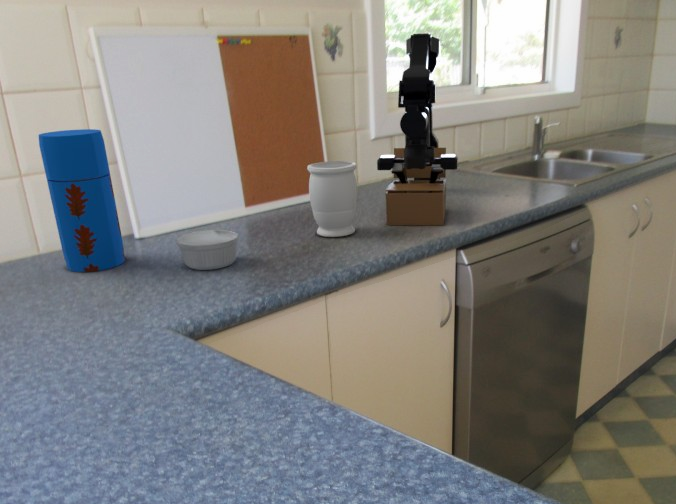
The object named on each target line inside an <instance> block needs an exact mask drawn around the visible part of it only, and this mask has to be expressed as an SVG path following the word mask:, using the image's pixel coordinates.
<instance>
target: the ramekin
mask: <svg viewBox="0 0 676 504" xmlns="http://www.w3.org/2000/svg"><path fill="white" fill-rule="evenodd" d="M238 242H239V235H238V233H237V232H234V231H231V230H226V229H206V230H198V231H193V232H189V233H186V234H183V235H181V236H179V237H178V238H177V239H176V245H177V247H178V248H179V252H180V254H181V257H182V260H183V263H184V264H185V266H187V267H188V268H189V269H191V270H195V271H212V270H219V269H224V268H226V267H229V266H231V265H233V264H234V262H235V261H236V260H237V256H238V255H237V253H238Z"/></svg>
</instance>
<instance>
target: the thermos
mask: <svg viewBox="0 0 676 504" xmlns="http://www.w3.org/2000/svg"><path fill="white" fill-rule="evenodd" d="M38 144H39V145H38V146H39V151H40V155H41V160H42V164H43V169H44V173H45V178H46V182H47V187H48V191H49V195H50V200H51V205H52V209H53V214H54V219H55V224H56V228H57V231H58V237H59V241H60V245H61V249H62V254H63V257H64V260H65V264H66V267H67V270H69V271H70V272H75V273H76V272H77V273H89V272H99V271H104V270H110V269H112V268H115V267H118V266H120V265H122V264H123V263H125V261H126V258H125V257H126V256H125V249H124V241H123V237H122V236H123V235H122V230H121V226H120V220H119V214H118V209H117V203H116V199H115V193H114V188H113V181H112V177H111V171H110V166H109V160H108V154H107V150H106V145H105V138H104V136H103V133H102V131H101V129H96V128H95V129H93V128H92V129H90V128H87V129H85V128H84V129H83V128H82V129H67V130H57V131H49V132H42V133H39V134H38Z"/></svg>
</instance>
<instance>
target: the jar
mask: <svg viewBox="0 0 676 504" xmlns="http://www.w3.org/2000/svg"><path fill="white" fill-rule="evenodd" d="M356 169H357V163H356V162H353V161H344V160H332V161H330V160H329V161H320V162H314V163H310V164H308V165H307V171H308V172H309V174H310V175H309V180H308V196H309V203H310V206H311V210H312V215H313V218H314V221H315V223H316V225H317V226H318V228H317V230H316V234H317V235H318V236H321V237H325V238H340V237H341V238H342V237H347V236H350V235H353V234H354V233H355V232H356V229H355V227H354V225H353V224H354V221H355V219H356V216H357V205H358V198H359V197H358V195H359V193H358V191H359V190H358V183H357V177H356V174H355V171H356Z"/></svg>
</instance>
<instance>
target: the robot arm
mask: <svg viewBox="0 0 676 504" xmlns="http://www.w3.org/2000/svg"><path fill="white" fill-rule="evenodd" d="M405 42H406V43H405V44H406V47H405V51H406V53H405V54H406V55H405V56H406V57H407V59H409V67H408V68H407V69H405V70H404V71H402V77H401V80H399V82H398V99H397V100H398V101H397V108H399V109H400V108H401V109H403V108H404V113H403V114H402V116H401V118H400V121H399V126H400V127H399V128H400V130H401V132H402V133H403V134H404V145H405V146H404V148H405V149H404V158H396V155H394V154H381V155H380V157H379V158H378V159H377V161H376V165H377V167H376V169H377V171H390V172H391V174H392V175H394V174H396V175H397V177H398V178H397V179H398V181H400V182H401V184H407V183H408V181H409V180H408V178H407V172H406V169H412V168H419V169H424V168H426V166H432V170H431V175H430V178H413V180H430V183H435V181H436V180H441V178H437V177H438V175H439V173H443V172H444V170H446V171H455V170H458V167H459V156H458V155H457V154H456V153H446V154H441V157H440V158H435V151H434V148H440V145H439V139H438V138H437V135H436V134H435V132H434V130H433V129H434V127H433V124H434V123H433V122H434V121H433V120H434V119H433V106H434V104H436V94H437V85H436V84H435V81H434V79H433V73H434V71H435V70H436V68H437V66H438V64H439V61H438V60H439V58H441V41H440V39H439V38H437V37H434V36H432V34H431V33H430V34H429V32H428V33H423V32H422V33H413V34H410V37H409V38H408V39H406V41H405ZM404 193H407V191H404ZM429 193H432V191H429Z"/></svg>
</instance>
